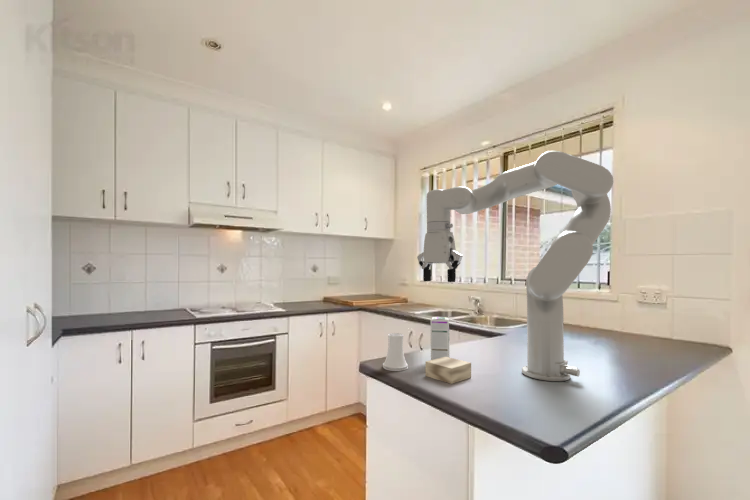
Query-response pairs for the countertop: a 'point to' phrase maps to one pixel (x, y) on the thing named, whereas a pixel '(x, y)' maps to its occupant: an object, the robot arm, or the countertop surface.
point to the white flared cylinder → (395, 353)
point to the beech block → (448, 369)
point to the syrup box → (439, 337)
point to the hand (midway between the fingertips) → (439, 281)
